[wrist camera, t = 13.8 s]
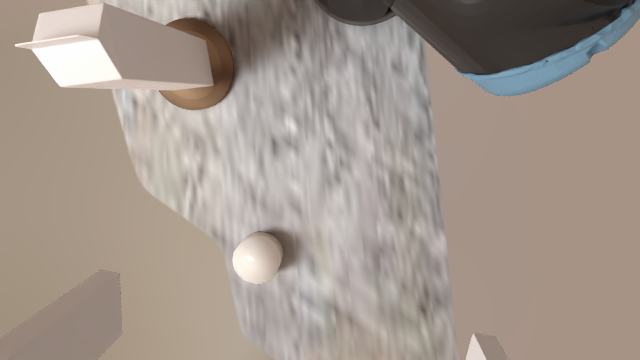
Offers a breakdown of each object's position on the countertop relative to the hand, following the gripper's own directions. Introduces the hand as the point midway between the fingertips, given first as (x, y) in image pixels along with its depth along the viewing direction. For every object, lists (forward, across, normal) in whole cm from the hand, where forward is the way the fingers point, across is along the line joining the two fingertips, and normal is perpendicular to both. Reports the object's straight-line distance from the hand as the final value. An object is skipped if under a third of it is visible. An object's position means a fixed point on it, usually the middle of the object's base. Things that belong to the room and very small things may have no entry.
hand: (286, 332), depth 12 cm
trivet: (+37, -22, +10) cm, 44 cm away
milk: (+36, -22, +10) cm, 43 cm away
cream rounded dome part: (+37, -10, -17) cm, 42 cm away
